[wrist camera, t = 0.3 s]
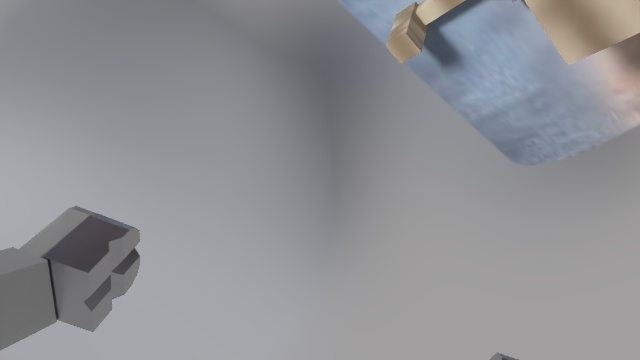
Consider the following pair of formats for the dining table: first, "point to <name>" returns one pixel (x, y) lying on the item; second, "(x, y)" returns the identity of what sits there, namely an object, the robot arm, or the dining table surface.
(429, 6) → the pusher
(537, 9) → the small cabinet
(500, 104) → the dining table surface
